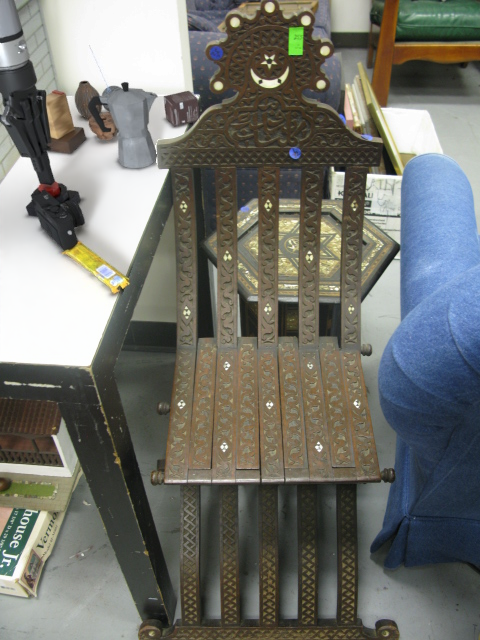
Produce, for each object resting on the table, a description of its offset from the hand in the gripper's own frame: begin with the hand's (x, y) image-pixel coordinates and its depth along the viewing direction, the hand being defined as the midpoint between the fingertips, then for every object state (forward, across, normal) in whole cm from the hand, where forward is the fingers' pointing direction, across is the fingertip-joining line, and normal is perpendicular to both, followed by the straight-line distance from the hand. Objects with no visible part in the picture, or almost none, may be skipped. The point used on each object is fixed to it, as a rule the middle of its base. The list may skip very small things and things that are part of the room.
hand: (47, 182), depth 114 cm
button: (+3, 0, 0) cm, 3 cm away
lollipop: (-5, +46, +4) cm, 46 cm away
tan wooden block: (+3, +26, +13) cm, 29 cm away
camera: (+6, -8, -8) cm, 13 cm away
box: (+3, +48, -15) cm, 51 cm away
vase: (+6, +43, +14) cm, 46 cm away
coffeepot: (+6, +23, -8) cm, 25 cm away
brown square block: (+6, +26, +13) cm, 30 cm away
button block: (+6, 0, 0) cm, 6 cm away
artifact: (+6, +32, +3) cm, 33 cm away
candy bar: (+4, -17, -18) cm, 26 cm away
